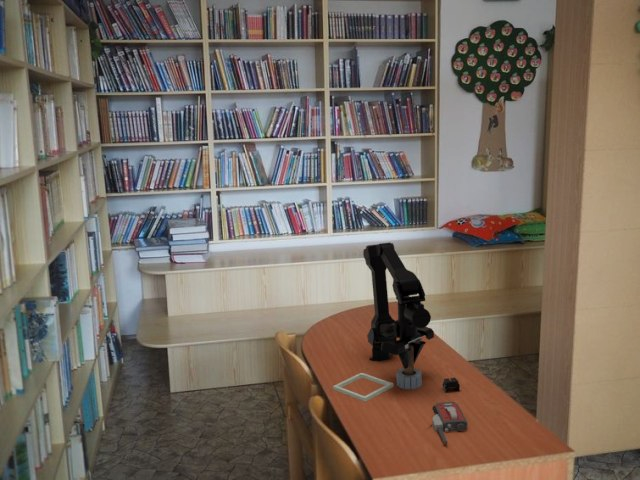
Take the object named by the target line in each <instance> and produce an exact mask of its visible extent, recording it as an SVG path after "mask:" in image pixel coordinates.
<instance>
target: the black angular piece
mask: <svg viewBox="0 0 640 480" xmlns="http://www.w3.org/2000/svg"><path fill="white" fill-rule="evenodd" d="M460 387H461V385H460V383H459V380H458V379H457V378H456V377H450V378H449V377H448V378H447V377H446V378H443V382H442V390H443V391H444V392H445V394H447V393H450V391H448V389H456V391H458V392H460V390H461V389H460Z"/></svg>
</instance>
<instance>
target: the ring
mask: <svg viewBox="0 0 640 480" xmlns="http://www.w3.org/2000/svg"><path fill="white" fill-rule="evenodd" d="M422 375H423V374H422V371H421V370H420V369H418V368H415V367H414V375H410V376H409V375H404V367H403V368H399V369H398V370H397V371H396V386H397V387H398V388H400V389H403V390H416V389H419V388H421V387H422V385H423V383H422V381H423V380H422V379H423V378H422V377H423V376H422Z"/></svg>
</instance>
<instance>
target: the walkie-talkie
mask: <svg viewBox="0 0 640 480" xmlns="http://www.w3.org/2000/svg"><path fill="white" fill-rule="evenodd" d="M432 410H433V413H434V415H433V417H432V419H431V420H432V421H431V422H432V426H433V430H434V432H435V433H436V432H438V433H439V437H440V439H441V440H442V443H443V444H444V445H448V440H447V438H446V436H445V433H448V432H458V431H459V432H463V431H467V430H468V421H467V419H466V417H465V416H464V413H463V411H462V410H461V409H460V406H459V404H458V403H456V402H455V401H442V402H436V403H435V404H434V405H433V406H432ZM444 432H445V433H444Z"/></svg>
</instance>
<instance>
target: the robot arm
mask: <svg viewBox="0 0 640 480" xmlns="http://www.w3.org/2000/svg"><path fill="white" fill-rule="evenodd" d="M362 251H363V253H362V254H363V258H364V260H365V264H366V266H367V268H368V269H369V270H370V272H371V284H372V285H371V286H372V292H373V293H372V295H373V306H374V316H373V318H372V320H371V321H370V329H369V331H368V333H367V335H366V337H367V342H368V343H369V344H370V346H371V347H372V349H371V354H372V355H371V356H370V357H369V360H370V361H373V362H383V361H387V360H390V359H392V355H394V356H395V355H396V356H399V360H400V362H401V365H402V367H403V368H407V367H408V364H409V359H410V355H411V351H412V349H409V348H408V345H412V346H413V349H414V365H415V363H416V361H417V359H418V358H419V355H420V354H421V351H422V350H423V348H424V346H425V345H426V342H427V341H424V340H423V337H424V336H425V339H426V340H428V341H430V340H432V339H434V338H435V331H434V330H433V328H432V327H427V326H429V324H430V322H431V319H432V315H431V313H430V312H429V310H427V309H426V308H425V305H424V304H423V303H422V302H425V301H426V293H425V290H424V288H423V285H422V283H421V280H420V279H419V278H418V276H417V275H416V274H415V273H414V272H413V271H411V270H409V269H407V267H406V266H405V264H404V263H403V262H402V259H401V258H400V256H399V254H398V253H397V250H396V249H395V245H394V243H393V242H382V243H381V242H380V243H377V244H370V245H368V244H367V245H366V246H365V248H364V249H363V250H362ZM387 270H388V272H389V274H390V275H391V277H392V290H393V293H394V295H395V297H396V298H395V299H396V300H397V320H395V319H393V318H392V316H391V314H390V307H389V298H388V297H389V295H388V282H387V273H386V272H387Z"/></svg>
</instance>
